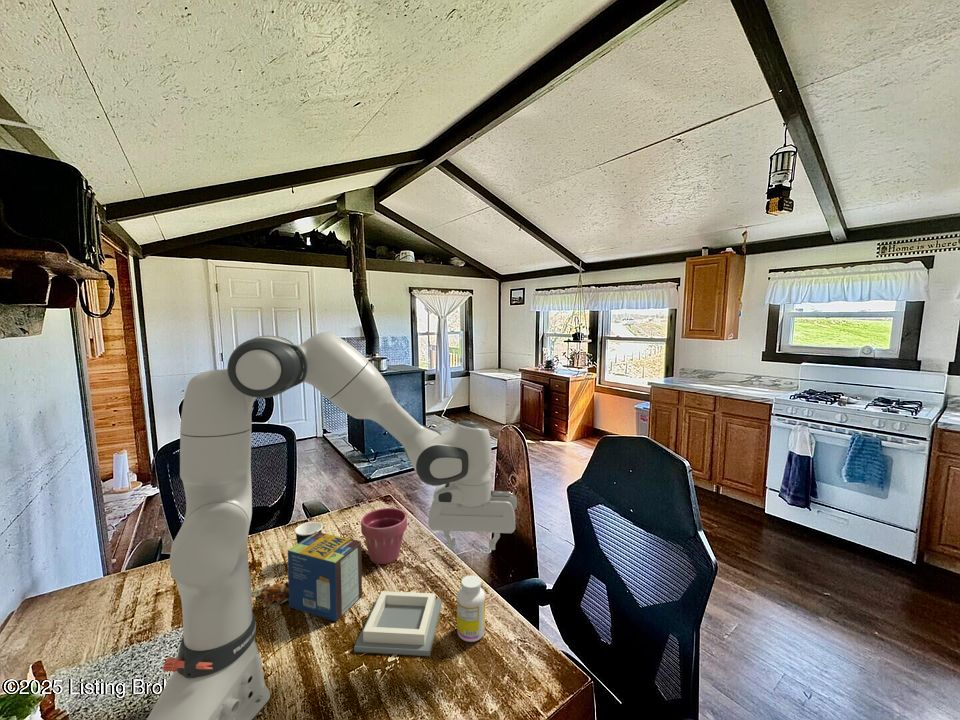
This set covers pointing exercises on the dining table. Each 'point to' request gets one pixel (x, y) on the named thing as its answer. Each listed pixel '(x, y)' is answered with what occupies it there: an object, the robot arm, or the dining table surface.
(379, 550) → the plant pot
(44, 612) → the dining table surface
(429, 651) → the picture frame
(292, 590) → the protein box
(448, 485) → the robot arm
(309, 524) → the dixie cup
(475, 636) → the supplement bottle
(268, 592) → the pastry
